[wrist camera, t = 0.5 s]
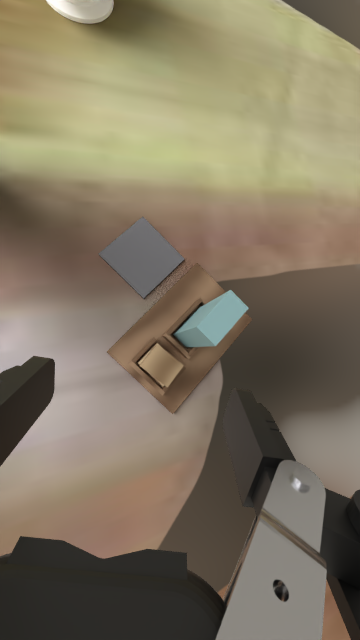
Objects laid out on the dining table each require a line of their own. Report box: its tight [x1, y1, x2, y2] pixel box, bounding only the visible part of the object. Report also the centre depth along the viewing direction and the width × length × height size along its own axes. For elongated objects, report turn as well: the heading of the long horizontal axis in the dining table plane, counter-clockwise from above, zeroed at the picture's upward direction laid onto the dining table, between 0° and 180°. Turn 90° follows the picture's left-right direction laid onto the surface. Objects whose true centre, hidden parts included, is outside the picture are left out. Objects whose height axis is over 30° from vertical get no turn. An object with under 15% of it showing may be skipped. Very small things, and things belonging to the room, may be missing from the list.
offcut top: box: [140, 344, 184, 387], centre depth 33 cm, size 5×4×2 cm
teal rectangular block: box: [173, 290, 248, 347], centre depth 32 cm, size 3×6×13 cm, turn 137°
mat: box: [99, 217, 184, 299], centre depth 39 cm, size 10×10×1 cm
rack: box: [107, 263, 252, 414], centre depth 37 cm, size 14×21×3 cm, turn 136°
